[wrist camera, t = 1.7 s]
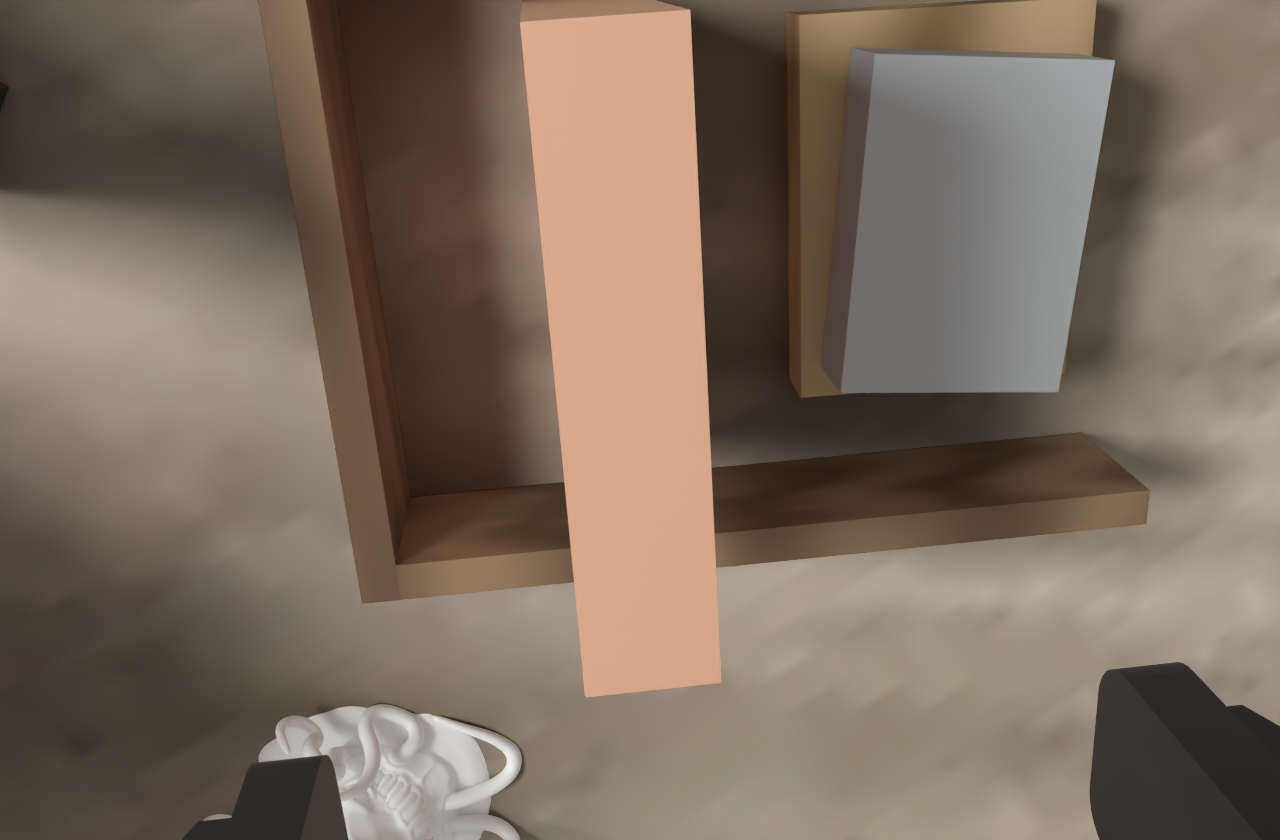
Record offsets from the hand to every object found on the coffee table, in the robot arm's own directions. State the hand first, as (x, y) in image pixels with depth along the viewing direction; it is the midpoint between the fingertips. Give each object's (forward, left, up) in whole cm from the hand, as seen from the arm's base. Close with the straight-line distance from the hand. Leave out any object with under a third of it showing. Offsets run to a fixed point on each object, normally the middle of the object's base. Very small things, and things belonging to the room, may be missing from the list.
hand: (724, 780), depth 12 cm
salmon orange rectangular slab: (0, 0, -28) cm, 28 cm away
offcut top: (-11, 0, -26) cm, 28 cm away
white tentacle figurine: (+10, +21, -28) cm, 37 cm away
